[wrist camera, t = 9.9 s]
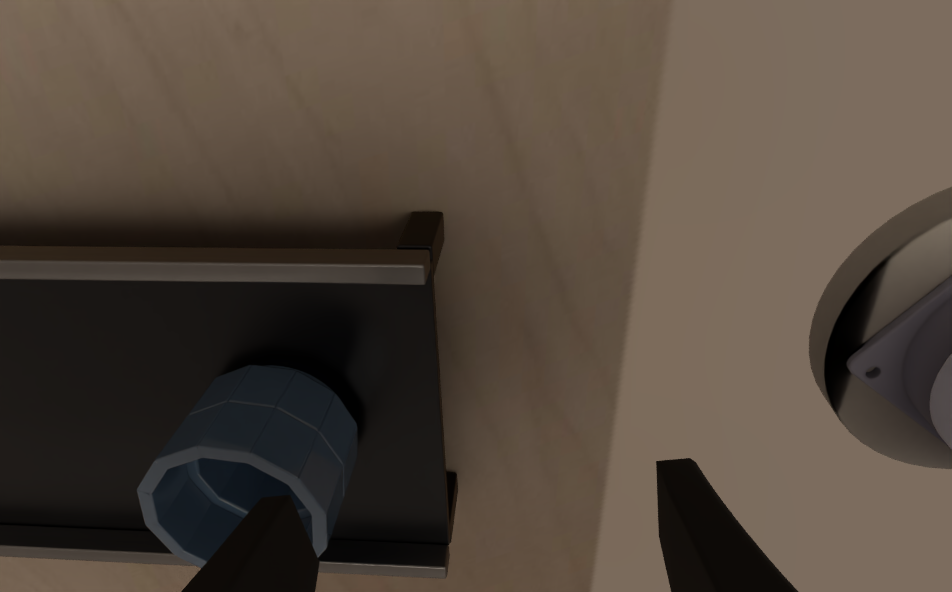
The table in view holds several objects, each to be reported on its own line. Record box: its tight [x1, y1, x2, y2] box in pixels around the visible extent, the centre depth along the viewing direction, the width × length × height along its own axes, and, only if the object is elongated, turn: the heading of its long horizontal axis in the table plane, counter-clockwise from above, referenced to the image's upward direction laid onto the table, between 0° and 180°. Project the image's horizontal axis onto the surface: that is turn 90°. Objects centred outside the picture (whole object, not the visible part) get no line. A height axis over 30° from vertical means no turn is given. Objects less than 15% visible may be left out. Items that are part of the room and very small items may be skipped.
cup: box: [137, 365, 358, 568], centre depth 18 cm, size 5×5×4 cm
